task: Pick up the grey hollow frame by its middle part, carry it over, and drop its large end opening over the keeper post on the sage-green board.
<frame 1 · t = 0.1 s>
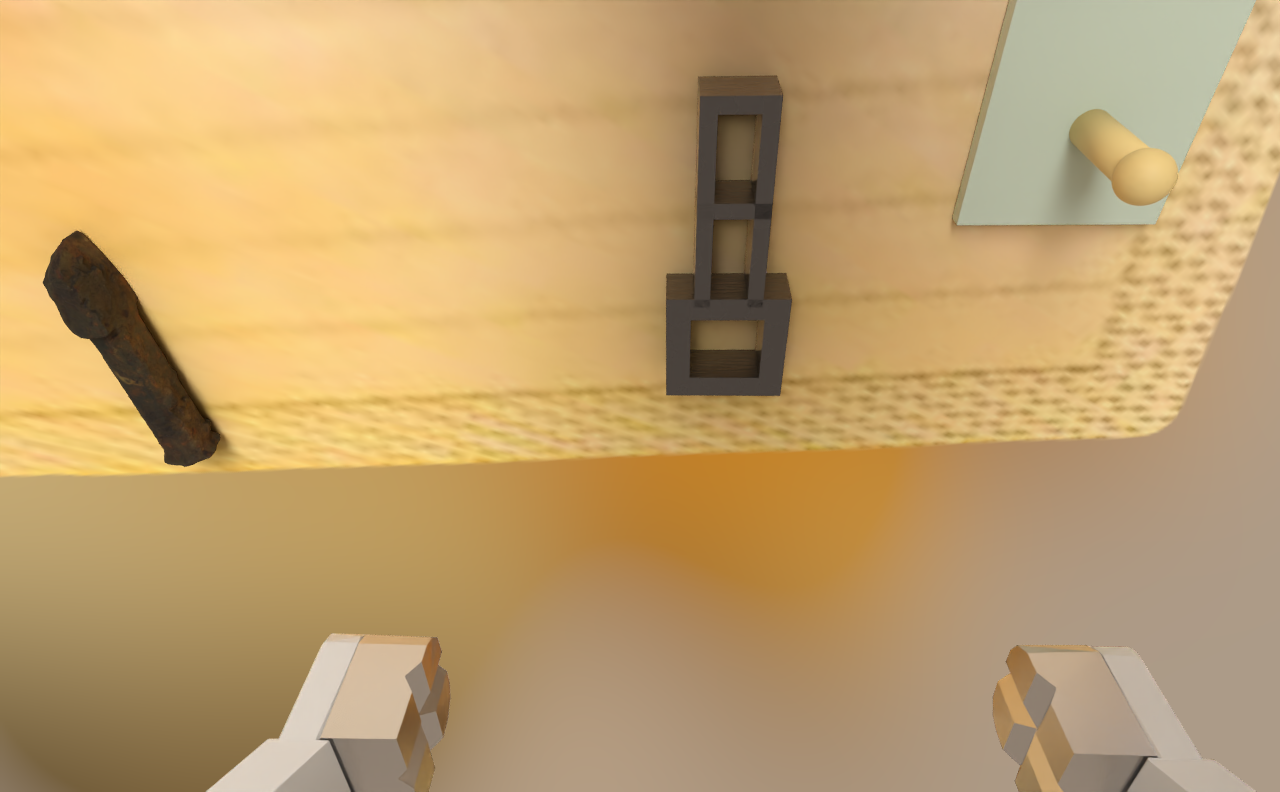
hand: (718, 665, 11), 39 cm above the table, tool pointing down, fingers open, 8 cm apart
keeper board: (1118, 18, 41), on the table
grey hollow frame: (723, 322, 54), on the table
hand tool: (145, 341, 57), on the table
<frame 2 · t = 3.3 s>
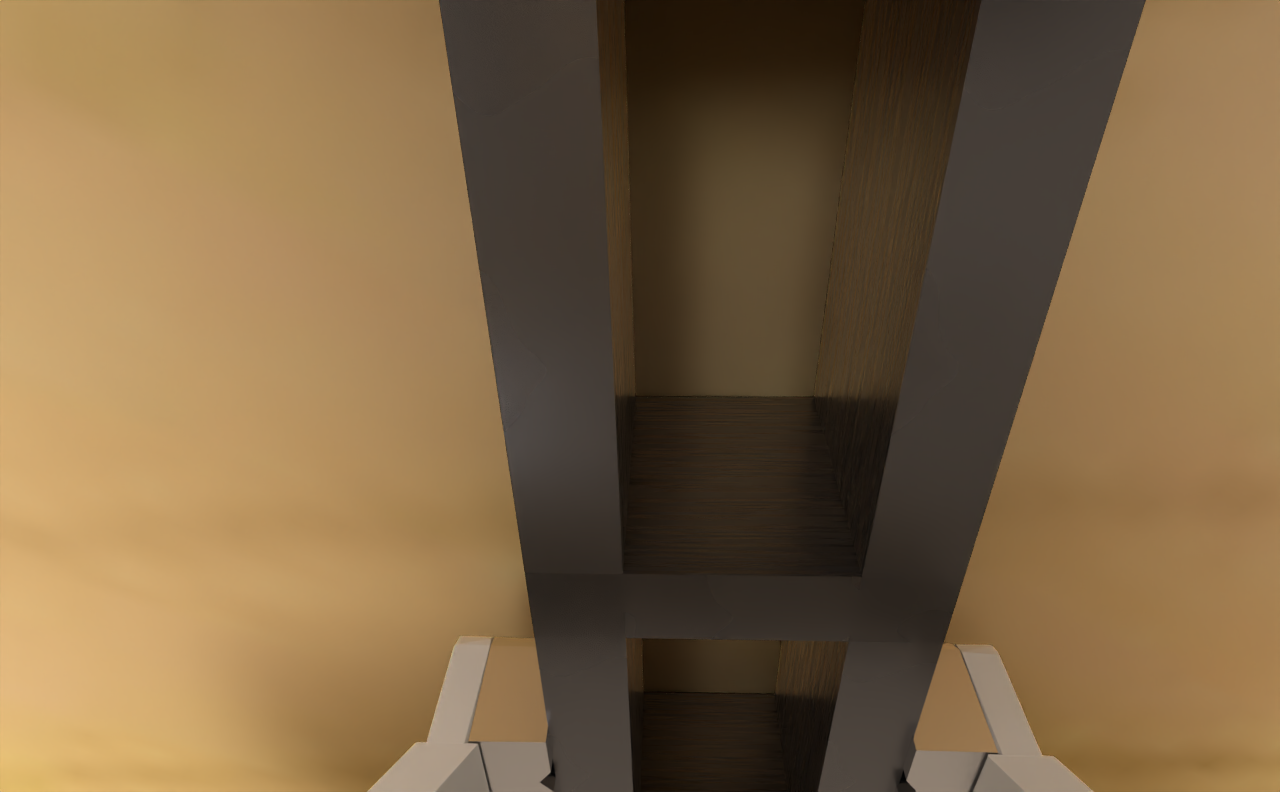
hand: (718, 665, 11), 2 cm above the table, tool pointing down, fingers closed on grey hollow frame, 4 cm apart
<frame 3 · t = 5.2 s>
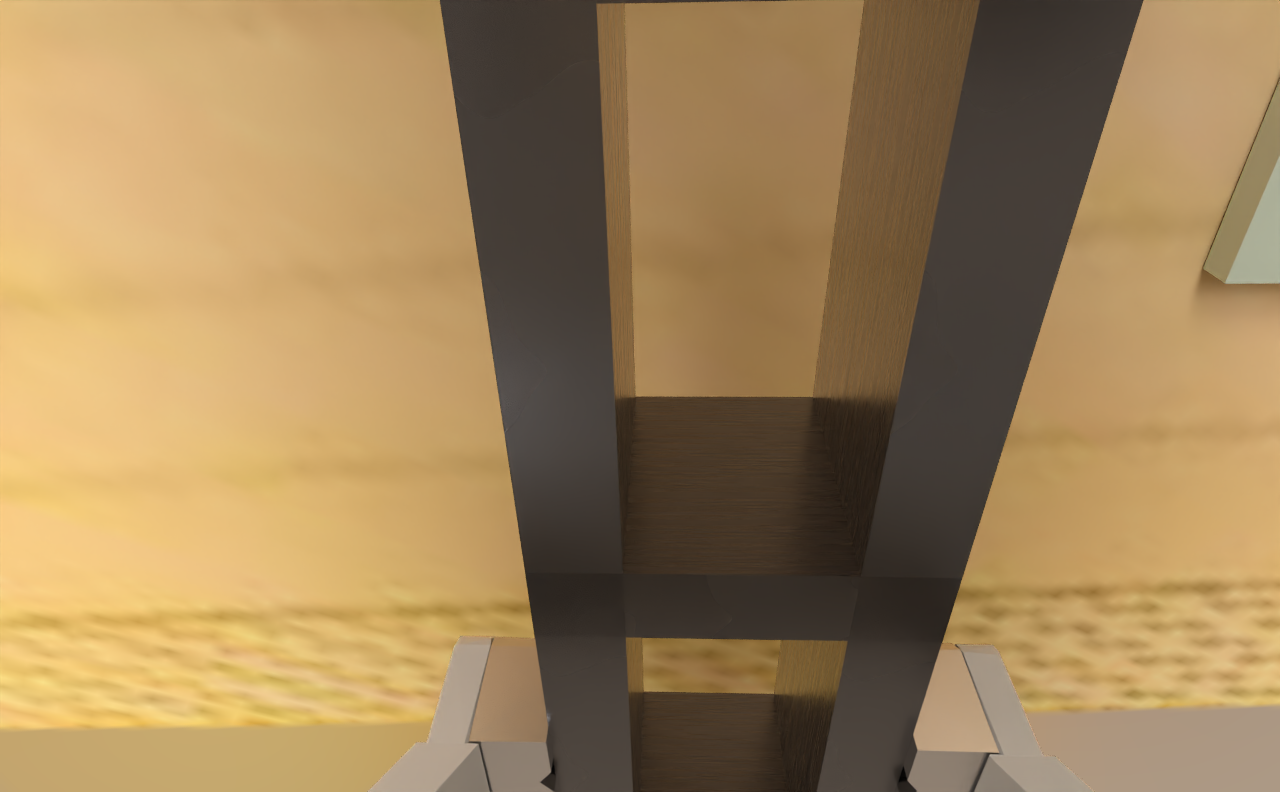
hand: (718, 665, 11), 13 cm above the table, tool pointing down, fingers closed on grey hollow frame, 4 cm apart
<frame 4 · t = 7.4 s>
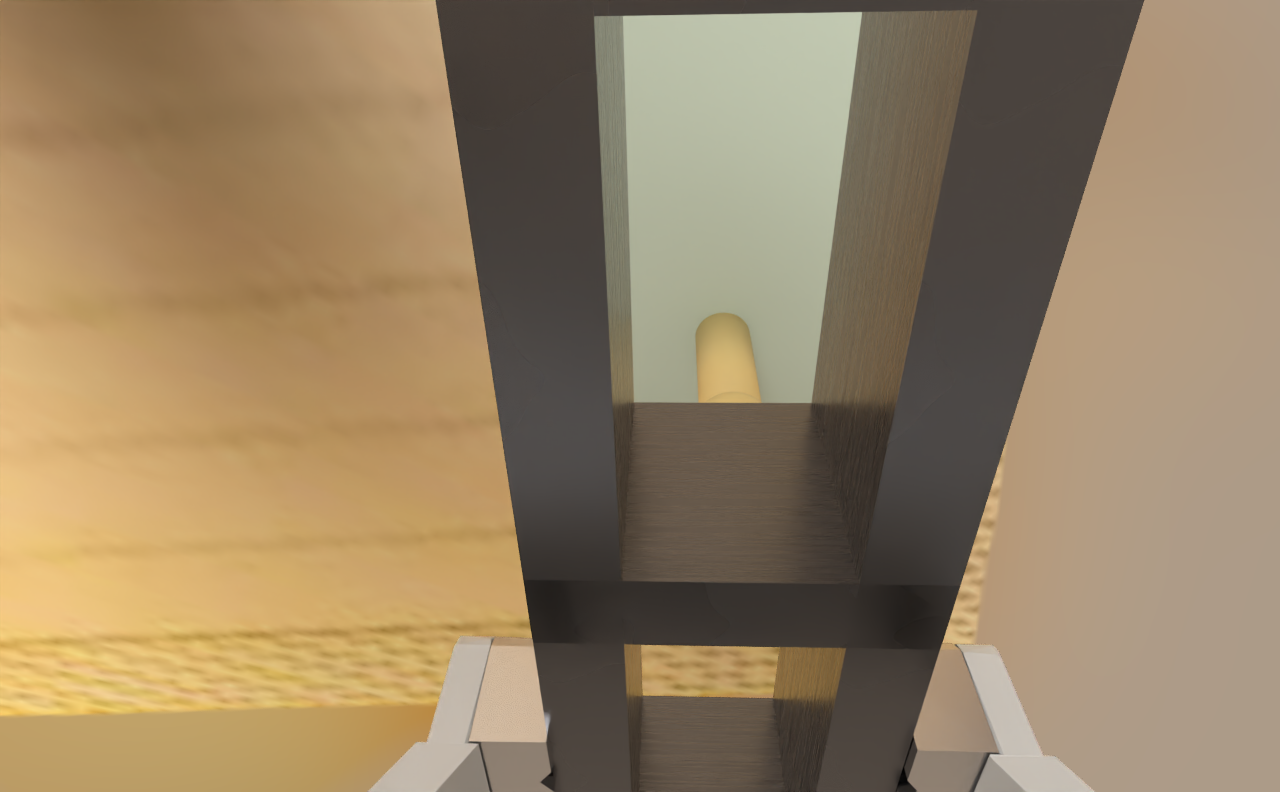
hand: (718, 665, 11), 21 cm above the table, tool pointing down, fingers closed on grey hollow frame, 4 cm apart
keeper board: (725, 195, 29), on the table
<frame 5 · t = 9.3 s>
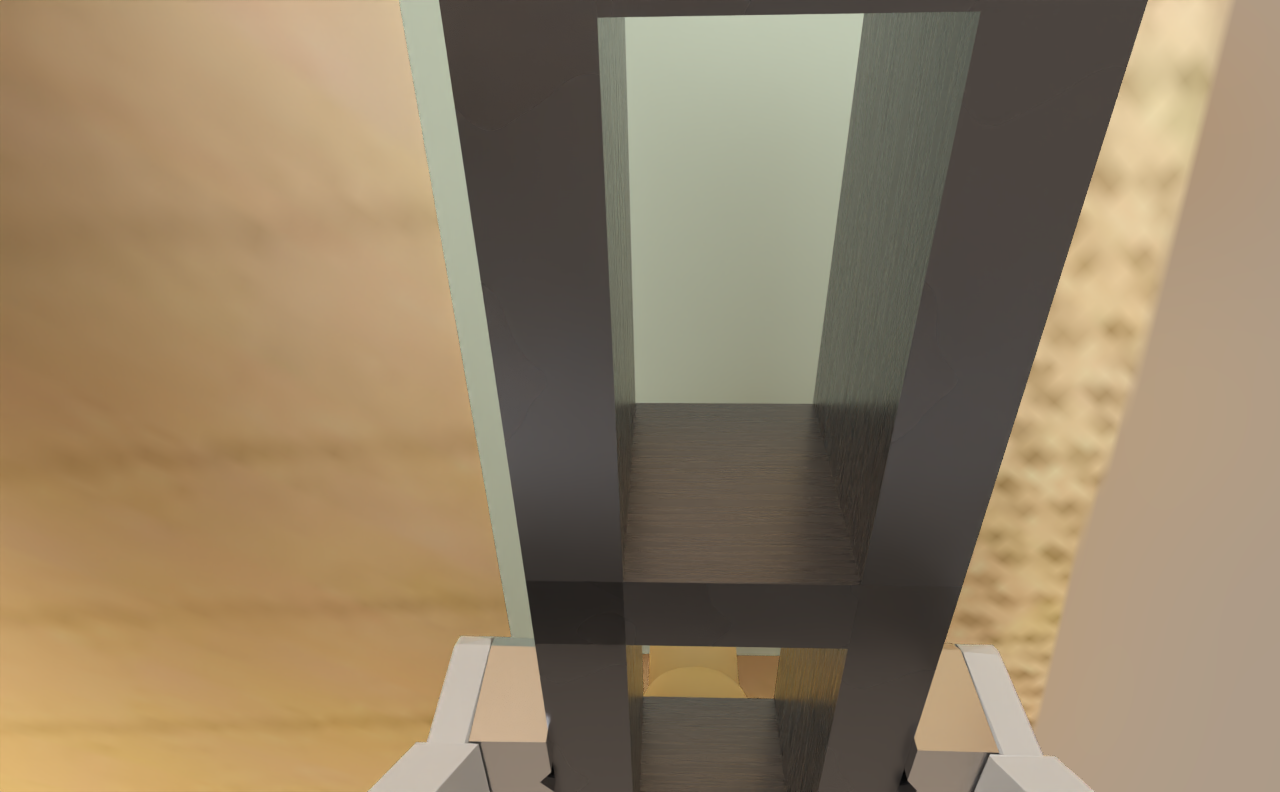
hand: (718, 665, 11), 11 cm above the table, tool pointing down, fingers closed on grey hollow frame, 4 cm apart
keeper board: (692, 355, 21), on the table
when the fingers open (4 cm above the table, at t = 11.1 s): grey hollow frame stays where it is, resting on keeper board.
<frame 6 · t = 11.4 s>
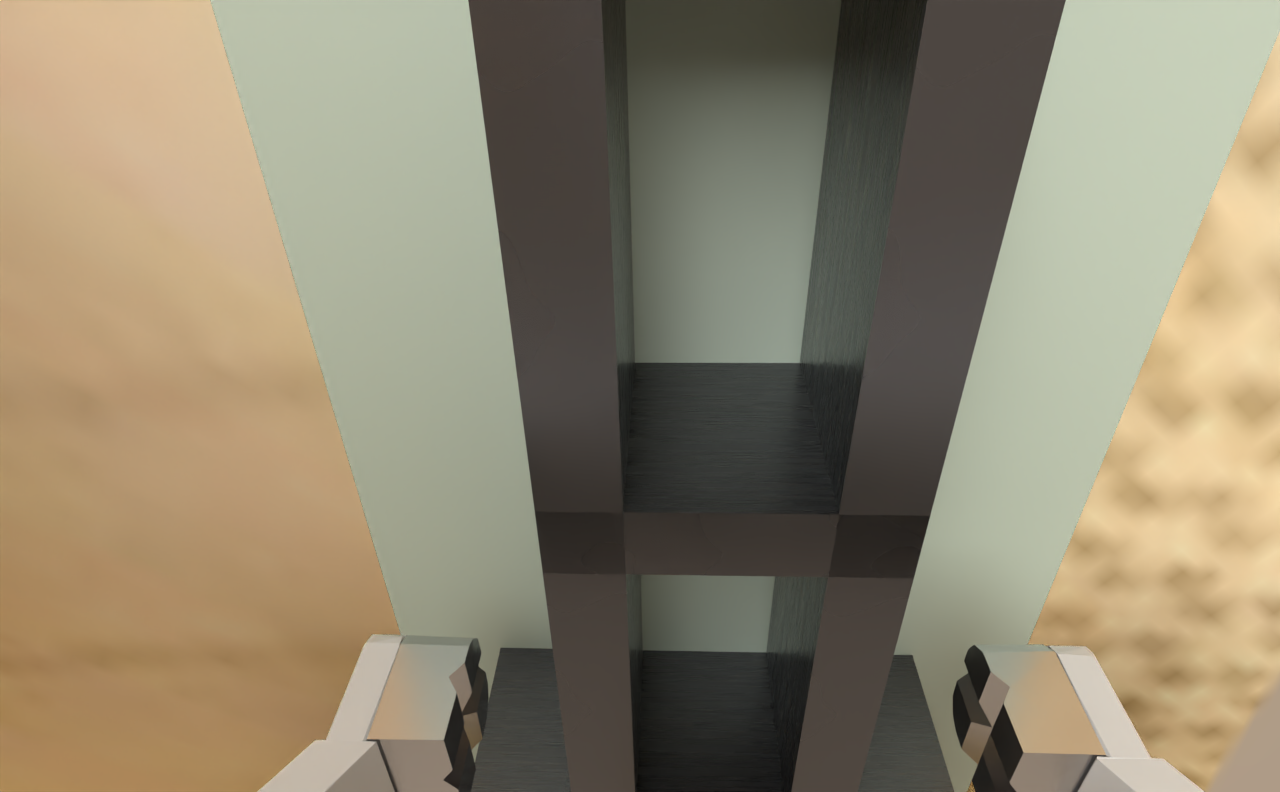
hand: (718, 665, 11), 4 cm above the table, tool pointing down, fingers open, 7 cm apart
keeper board: (708, 556, 15), on the table
grey hollow frame: (699, 765, 17), point 1 cm above the table, touching keeper board
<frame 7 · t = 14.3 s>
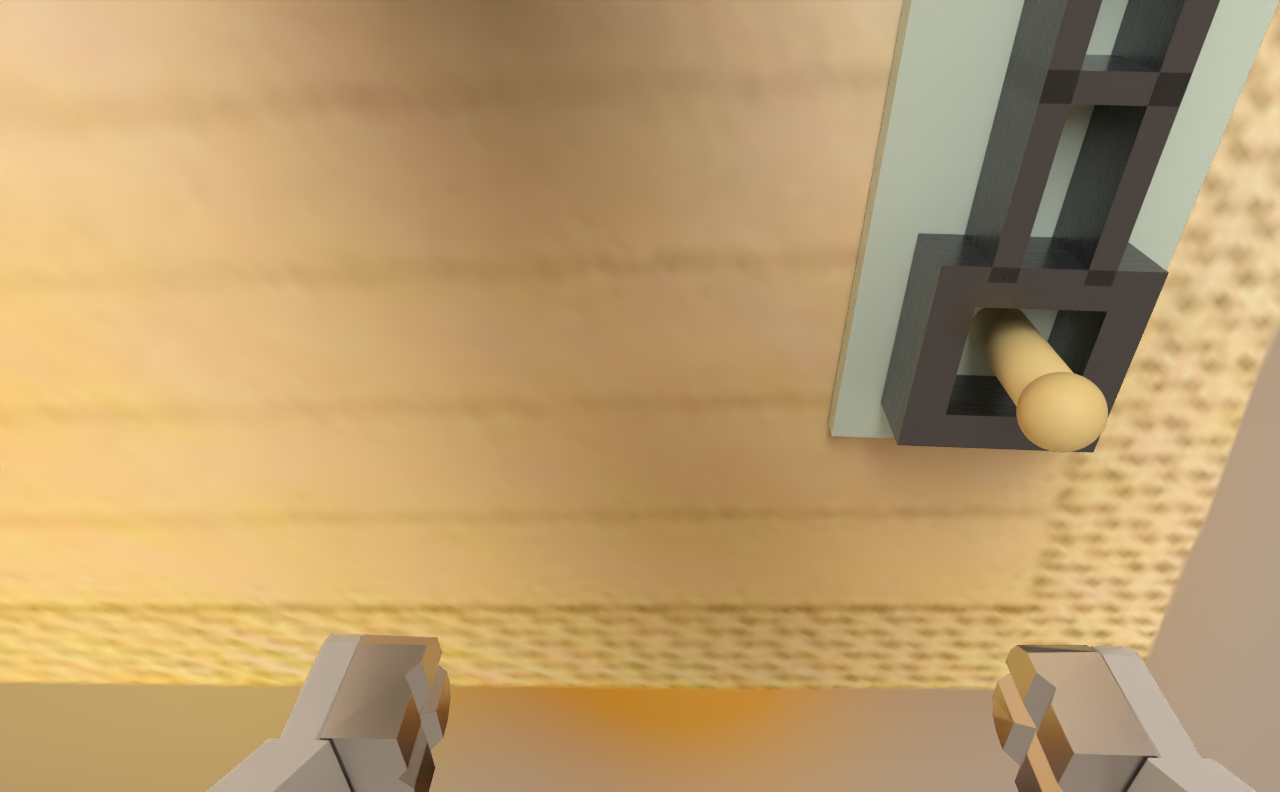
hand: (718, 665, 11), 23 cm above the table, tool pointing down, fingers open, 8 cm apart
keeper board: (1024, 189, 30), on the table
grey hollow frame: (994, 326, 32), point 1 cm above the table, touching keeper board
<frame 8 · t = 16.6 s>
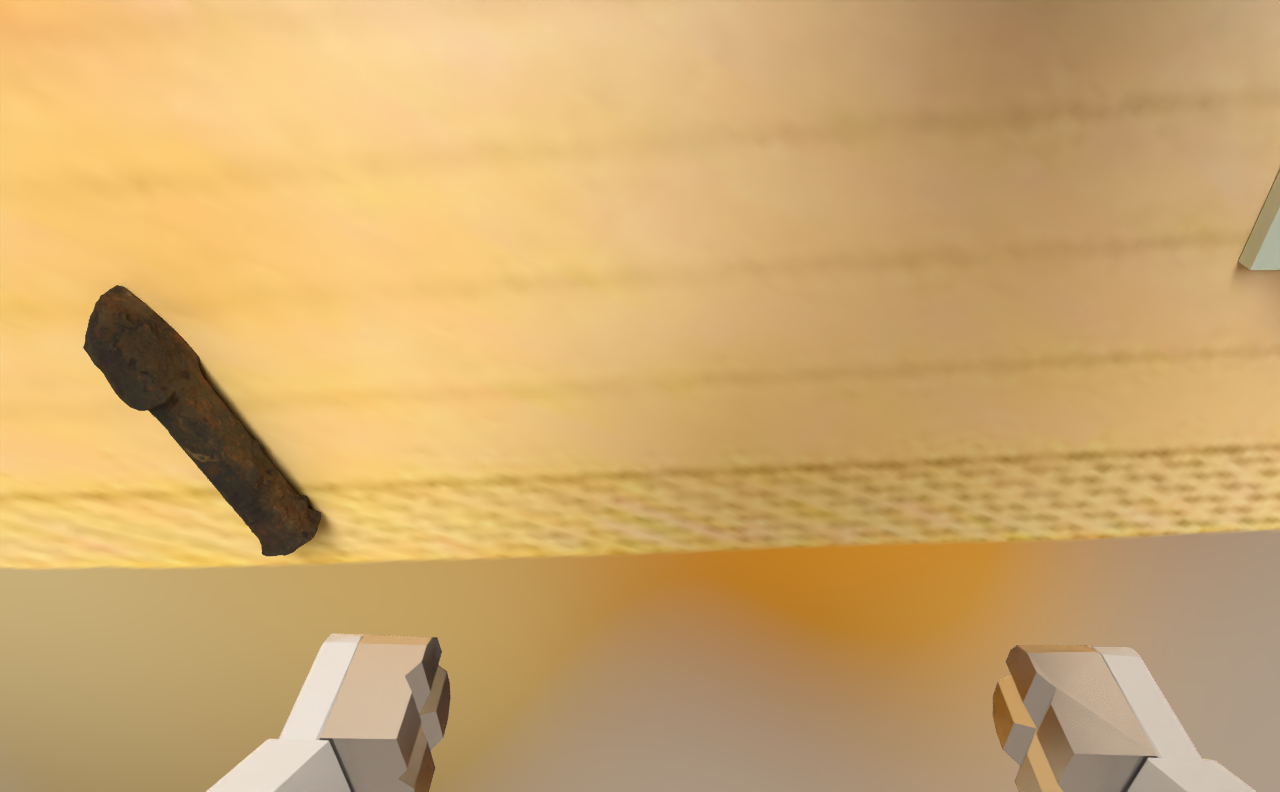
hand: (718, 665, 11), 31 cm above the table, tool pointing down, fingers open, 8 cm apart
hand tool: (219, 412, 49), on the table
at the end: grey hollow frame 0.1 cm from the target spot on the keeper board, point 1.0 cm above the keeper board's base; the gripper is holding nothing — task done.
